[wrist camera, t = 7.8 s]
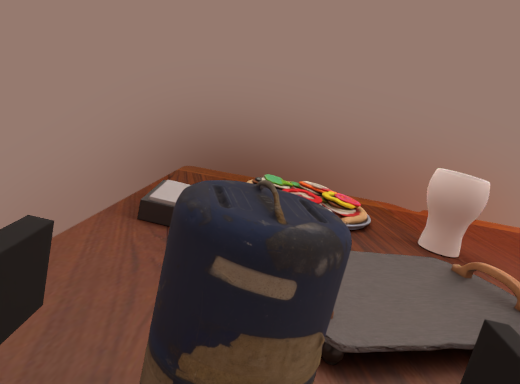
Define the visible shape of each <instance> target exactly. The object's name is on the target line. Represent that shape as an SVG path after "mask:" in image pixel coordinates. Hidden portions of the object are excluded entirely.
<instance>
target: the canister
mask: <svg viewBox="0 0 520 384" xmlns="http://www.w3.org/2000/svg"><path fill="white" fill-rule="evenodd" d="M351 245H352V240H351V233H350V231H349V229H348V227H347V226H346V224H345V223H344V222H343V221H342V220H341V219H340V218H339V217H338V216H337V215H336V214H334V213H333V212H331V211H330V210H328V209H327V208H325V207H323V206H321V205H319V204H317V203H315V202H313V201H311V200H309V199H306V198H304V197H301V196H299V195H296V194H292V193H289V192H286V191H283V190H279V189H276V188H275V186H274V184H273V183H272V182H270V181H267V180H262V181H260V182H258V183H257V184H252V183H247V182H239V181H227V180H214V181H203V182H199V183H196V184H193V185H190V186H188V187H186V188H185V189H184V190H183V191H182V192H181V194H180V195H179V197H178V199H177V201H176V203H175V206H174V210H173V215H172V219H171V224H170V229H169V235H168V240H167V246H166V251H165V256H164V261H163V266H162V271H161V276H160V281H159V287H158V292H157V297H156V302H155V307H154V312H153V317H152V322H151V327H150V333H149V339H148V344H147V348H146V353H145V358H144V363H143V369H142V374H141V379H140V384H313V382H314V378H315V375H316V369H317V368H318V366H319V364H320V359H321V353H322V346H323V343H324V341H325V336H326V332H327V329H328V326H329V322H330V319H331V316H332V313H333V309H334V306H335V302H336V299H337V295H338V292H339V289H340V285H341V282H342V278H343V275H344V272H345V269H346V266H347V262H348V259H349V255H350V251H351Z"/></svg>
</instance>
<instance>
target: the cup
mask: <svg viewBox="0 0 520 384" xmlns="http://www.w3.org/2000/svg"><path fill="white" fill-rule="evenodd" d="M489 191H490V182H488V181H486V180H483V179H480V178H477V177H474V176H471V175H467V174H464V173H460V172H456V171H452V170H447V169H442V168H438V169H437V170H436V171H435V173H434V175H433V176H432V178H431V180H430V182H429V185H428V189H427V206H428V212H429V214H428V219H427V225H426V227H425V229H424V231H423V233H422V235H421V236H420V239H419V241H418V244H419V245H420V246H422V247H423V248H425V249H427V250H429V251H432V252H434V253H437V254H440V255H444V256H448V257H458V256H459V253H460V248H461V241H462V237H463V235H464V233H465V231H466V229H467V227H468V226H469V225H470V224H471V223H472V222H473V221H474V220H475V219H476V218H477V217H478V216H479V215H480V214H481V212H482V211H483V209H484V208H485V206H486V204H487V201H488V198H489Z"/></svg>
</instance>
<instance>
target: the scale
mask: <svg viewBox="0 0 520 384" xmlns="http://www.w3.org/2000/svg"><path fill="white" fill-rule="evenodd" d="M188 186H190V185H188V184H184V183H180V182H176V181H171V180H167V181H166V180H163V181H162V182H161V183H160V184H158V185H157V186H156V187H155V188H154V189H153V190H151V191H150V192H149V193H148V194H147V195H146V196H144V197H143V198H142V199H141V201H140V207H139V212H138V218H137V219H140V220H145V221H149V222H153V223H158V224H162V225H166V226H170V224H171V219H172V215H173V210H174V206H175V203H176V201H177V199H178V197H179V195H180V194H181V192H182V191H183V190H184V189H185V188H186V187H188Z"/></svg>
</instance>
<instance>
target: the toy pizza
mask: <svg viewBox="0 0 520 384" xmlns="http://www.w3.org/2000/svg"><path fill="white" fill-rule="evenodd" d="M262 180H267V181H270V182H272V183H273V184H274V186H275V188H276V189H279V190H283V191H286V192H289V193H292V194H296V195H299V196H301V197H304V198H306V199H309V200H311V201H313V202H315V203H317V204H319V205H321V206H323V207H325V208H327V209H328V210H330V211H331V212H333V213H334V214H336V215H337V216H338V217H339V218H340V219H341V220H342V221H343V222H344V223H345V224H346V226H347V227H348V229H349V230H356V229H361V228H363V227H365V226H366V225H368V224H369V223H370V222H371V219H370V217H369V216H368V215H367V213H366V212H365V210H364V209H363V208H361V207H360V206H361V204H360V203H359V202H357V201H356V200H354V199H352V198H350V197H348V196H346V195H343V194H339V193H337V192H334V191H332V190H329V189H328V188H327V187H324V186H321V185H318V184H315V183H311V182H308V181H303V182H299V183H296V182H287V181H284V180H282V179H281V178H280V177H277V176H274V175H269V174H267V175H264V177H257V178H255V179H253V180H250V181H248V182H247V183H252V184H257V183H258V182H260V181H262Z"/></svg>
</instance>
